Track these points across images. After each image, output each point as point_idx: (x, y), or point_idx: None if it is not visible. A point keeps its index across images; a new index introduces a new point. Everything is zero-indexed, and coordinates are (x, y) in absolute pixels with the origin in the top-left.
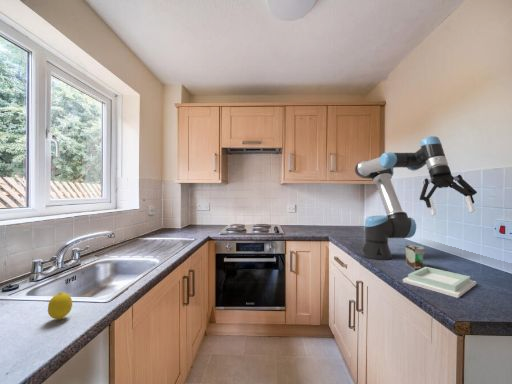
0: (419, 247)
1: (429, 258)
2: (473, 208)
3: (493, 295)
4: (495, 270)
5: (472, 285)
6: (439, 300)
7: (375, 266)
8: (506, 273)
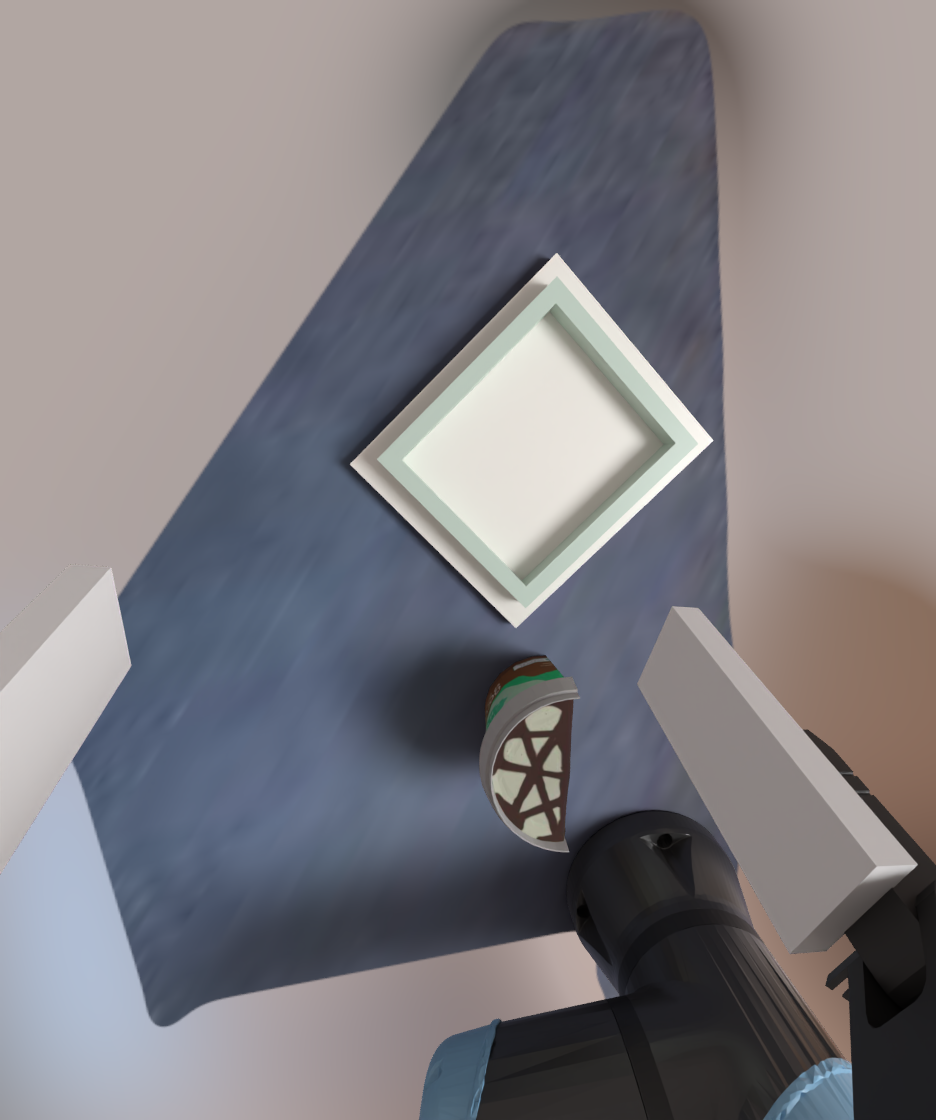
0: (496, 800)
1: (343, 900)
2: (58, 592)
3: (364, 320)
4: None
5: (394, 420)
6: (655, 216)
7: None
8: None
